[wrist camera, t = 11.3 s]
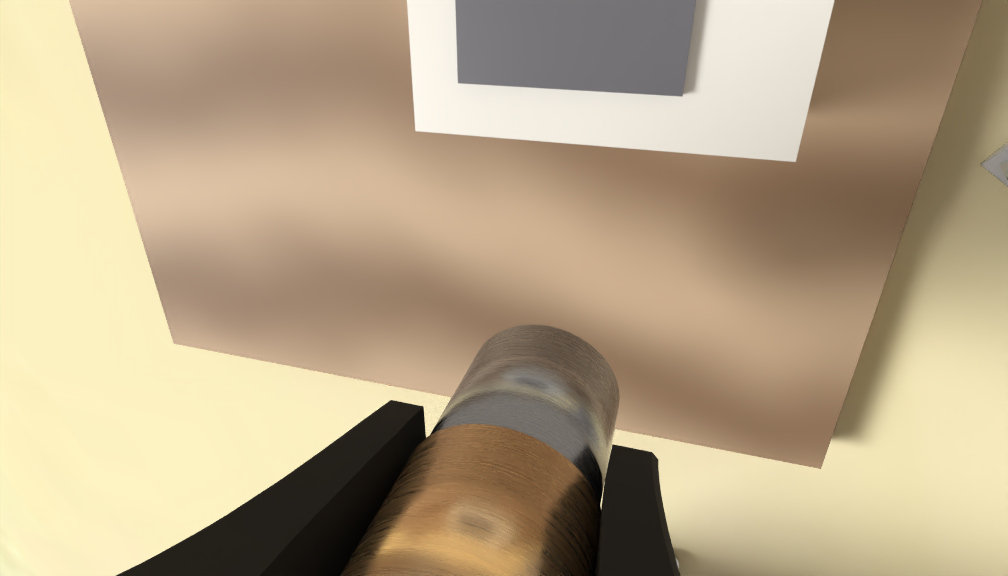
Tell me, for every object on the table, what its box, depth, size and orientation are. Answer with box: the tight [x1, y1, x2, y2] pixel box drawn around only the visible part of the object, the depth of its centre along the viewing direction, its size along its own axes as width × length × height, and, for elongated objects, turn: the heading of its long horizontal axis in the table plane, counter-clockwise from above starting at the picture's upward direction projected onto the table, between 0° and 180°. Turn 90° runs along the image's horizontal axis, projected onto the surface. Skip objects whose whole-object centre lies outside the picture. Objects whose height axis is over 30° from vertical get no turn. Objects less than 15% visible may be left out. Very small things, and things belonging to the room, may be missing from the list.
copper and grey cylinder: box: [340, 325, 620, 576], centre depth 9 cm, size 3×3×7 cm
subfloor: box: [69, 0, 983, 469], centre depth 16 cm, size 18×22×1 cm
